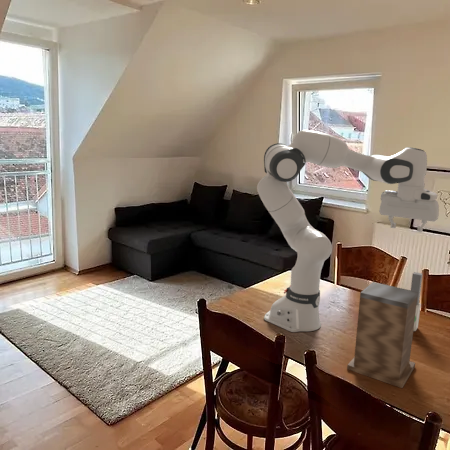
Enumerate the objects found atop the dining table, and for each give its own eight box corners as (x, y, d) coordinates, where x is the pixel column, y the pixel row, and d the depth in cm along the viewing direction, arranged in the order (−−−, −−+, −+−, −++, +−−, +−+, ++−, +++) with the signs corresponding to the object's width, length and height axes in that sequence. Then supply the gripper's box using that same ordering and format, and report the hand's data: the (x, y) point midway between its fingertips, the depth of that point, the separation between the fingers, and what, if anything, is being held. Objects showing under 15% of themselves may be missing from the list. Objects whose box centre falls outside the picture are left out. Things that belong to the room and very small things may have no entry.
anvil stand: (347, 369, 138) (353, 292, 133) (363, 350, 150) (370, 279, 144) (402, 388, 129) (412, 306, 123) (414, 366, 140) (424, 291, 135)
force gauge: (406, 324, 171) (403, 328, 168) (412, 271, 166) (409, 274, 163) (417, 327, 169) (415, 331, 165) (424, 274, 164) (421, 277, 160)
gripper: (378, 190, 161) (375, 226, 164) (438, 196, 149) (433, 235, 152) (384, 189, 166) (380, 224, 169) (442, 194, 154) (437, 232, 157)
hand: (406, 229), depth 160 cm, fingers open, 8 cm apart
